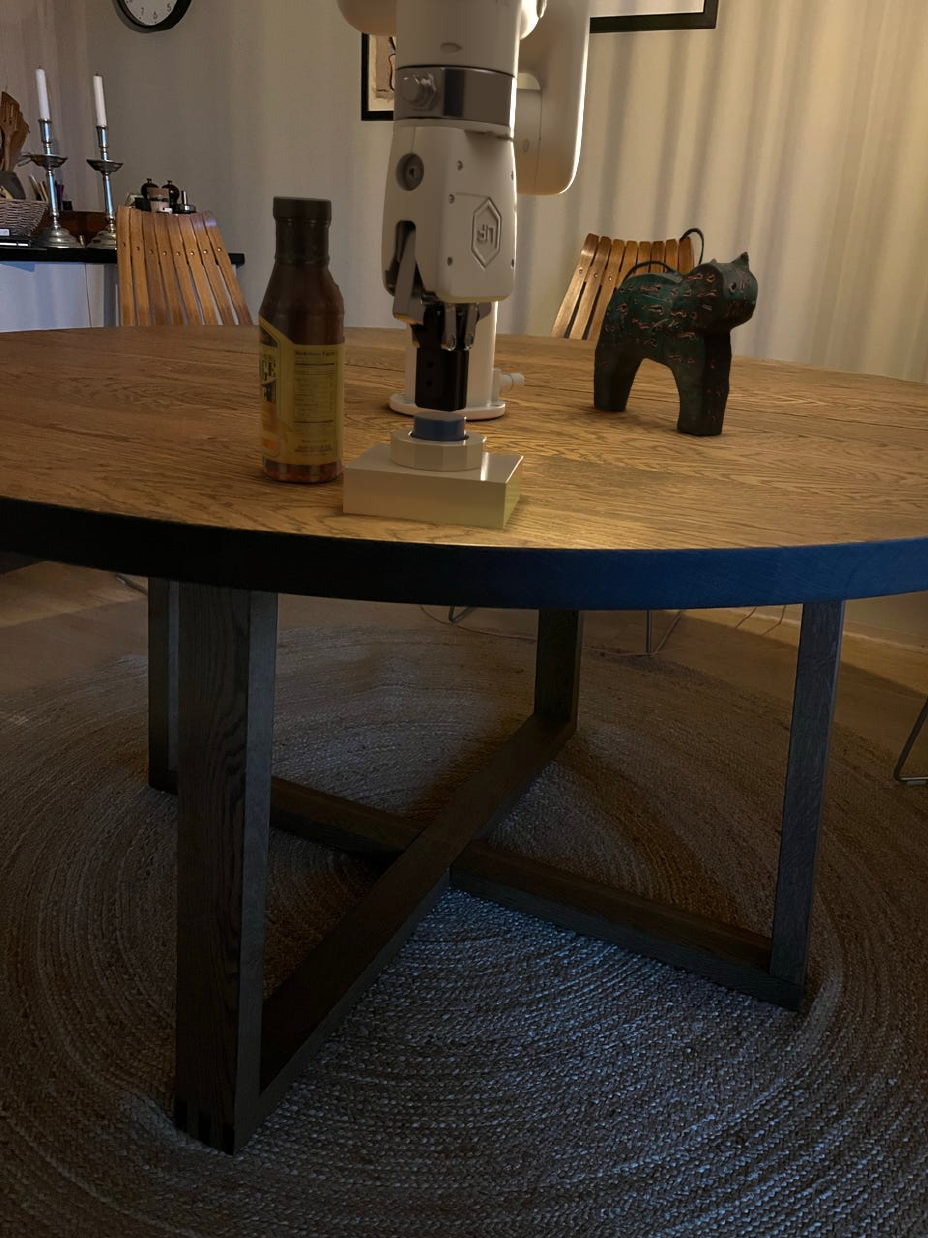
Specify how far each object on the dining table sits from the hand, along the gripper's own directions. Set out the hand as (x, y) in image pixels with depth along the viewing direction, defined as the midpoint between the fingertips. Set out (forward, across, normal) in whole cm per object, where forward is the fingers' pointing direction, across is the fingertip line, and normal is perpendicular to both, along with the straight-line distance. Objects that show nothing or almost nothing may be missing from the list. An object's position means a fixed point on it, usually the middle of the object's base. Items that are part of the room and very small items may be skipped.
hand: (440, 407), depth 68 cm
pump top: (+2, 0, 0) cm, 2 cm away
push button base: (+7, 0, 0) cm, 7 cm away
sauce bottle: (+7, 0, +12) cm, 14 cm away
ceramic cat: (+7, +47, +1) cm, 48 cm away
